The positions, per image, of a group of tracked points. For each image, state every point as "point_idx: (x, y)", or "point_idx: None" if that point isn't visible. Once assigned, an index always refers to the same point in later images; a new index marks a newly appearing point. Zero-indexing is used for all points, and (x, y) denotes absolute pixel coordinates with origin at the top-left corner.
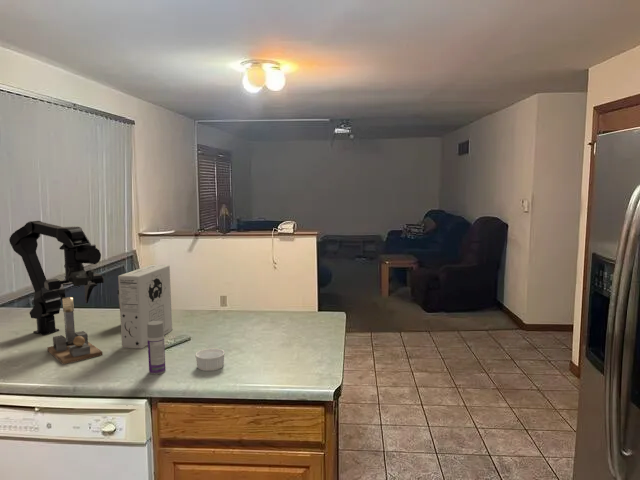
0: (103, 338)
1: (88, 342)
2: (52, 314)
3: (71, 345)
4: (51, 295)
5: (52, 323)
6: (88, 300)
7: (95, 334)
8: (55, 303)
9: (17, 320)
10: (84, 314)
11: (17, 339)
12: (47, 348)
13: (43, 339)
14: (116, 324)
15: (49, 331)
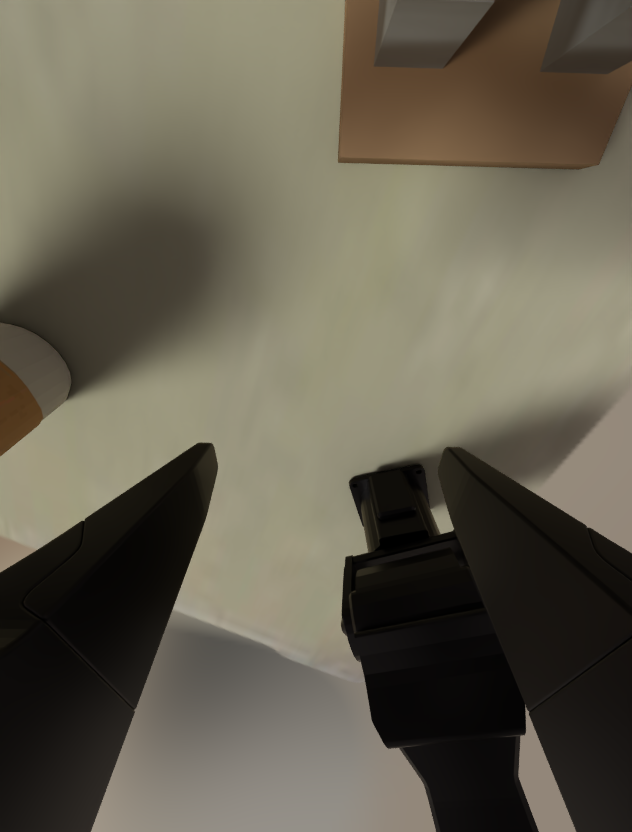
0: (205, 173)
1: (350, 5)
2: (384, 551)
3: (485, 36)
4: (434, 687)
5: (389, 500)
6: (173, 460)
7: (232, 315)
8: (395, 605)
9: None
10: (214, 584)
11: (508, 475)
12: (593, 162)
13: (451, 412)
14: (105, 414)
15: (399, 471)
